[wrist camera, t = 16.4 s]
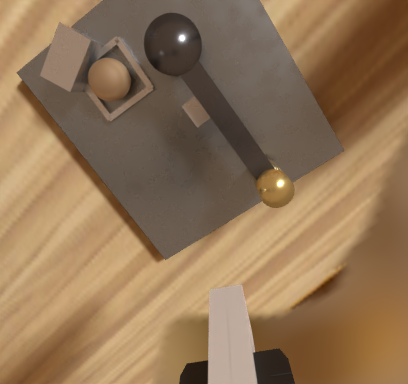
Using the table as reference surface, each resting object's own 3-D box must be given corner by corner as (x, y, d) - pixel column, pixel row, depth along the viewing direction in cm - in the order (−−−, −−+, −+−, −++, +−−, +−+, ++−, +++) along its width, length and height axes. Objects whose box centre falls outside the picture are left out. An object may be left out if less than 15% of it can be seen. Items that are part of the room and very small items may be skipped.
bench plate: (167, 252, 42) (160, 278, 36) (27, 73, 36) (-9, 70, 30) (337, 147, 37) (360, 157, 31) (209, -78, 31) (208, -116, 25)
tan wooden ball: (112, 108, 34) (100, 110, 31) (88, 75, 34) (72, 73, 30) (142, 85, 34) (133, 85, 30) (118, 51, 33) (106, 46, 29)
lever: (252, 196, 36) (261, 220, 29) (142, 47, 32) (123, 36, 25) (291, 170, 35) (309, 189, 28) (182, 12, 31) (174, -9, 24)
